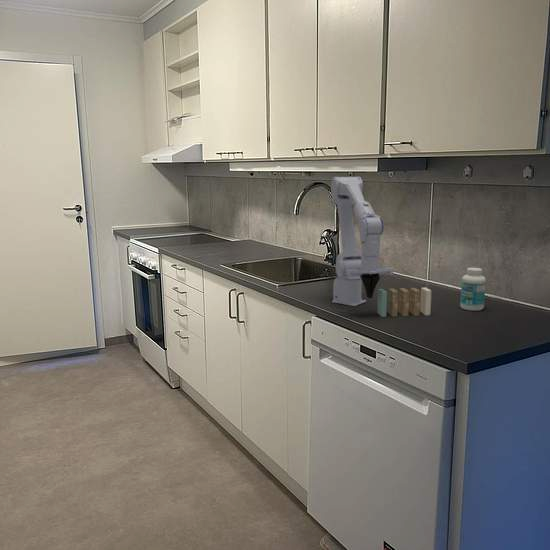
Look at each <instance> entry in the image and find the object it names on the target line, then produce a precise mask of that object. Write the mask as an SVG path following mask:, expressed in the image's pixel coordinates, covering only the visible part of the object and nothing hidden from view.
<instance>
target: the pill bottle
mask: <svg viewBox="0 0 550 550" xmlns="http://www.w3.org/2000/svg"><path fill="white" fill-rule="evenodd" d="M466 273H467V274H465V275H463V276H462V277H461V289H460V301H459V305H460V308H461V309H463V310H465V311H475V312H477V311H482V310H483V309H484V307H485V298H486V297H485V296H486V284H487V283H486V281H487V280H486V279H487V278H486V277H485V276H484V275H482V273H483V268H479V267H467V268H466Z"/></svg>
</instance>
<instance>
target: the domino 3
mask: <svg viewBox="0 0 550 550" xmlns="http://www.w3.org/2000/svg"><path fill="white" fill-rule="evenodd" d="M409 312H410V290H408V289H406V288H403V287H402V288H399V294H398V313H399V314H400V315H401V316H403V317H409Z"/></svg>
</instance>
